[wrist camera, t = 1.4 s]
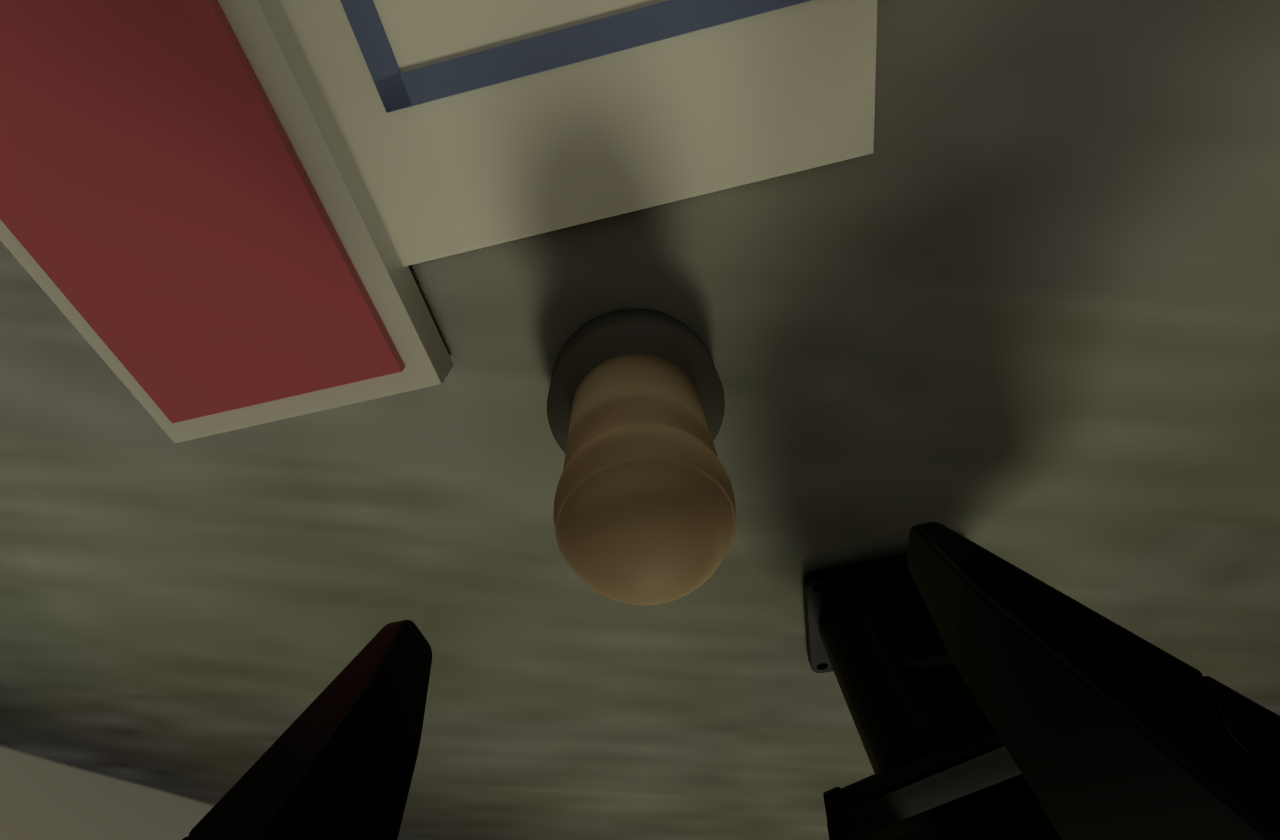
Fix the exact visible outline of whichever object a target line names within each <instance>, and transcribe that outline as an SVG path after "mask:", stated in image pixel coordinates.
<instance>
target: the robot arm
mask: <svg viewBox="0 0 1280 840" xmlns="http://www.w3.org/2000/svg"><path fill="white" fill-rule="evenodd" d="M803 583H804V598H805V614H806V629H807V644H808V660H809V663H810V666H811V668H812V671H814V672H816V673H824V672H830V671H834V673H835V676H836V678H837V681H838V683H839V686H840V688H841V691H842V693H843V696H844V698H845V701H846V703H847V706H848V708H849V711H850V713H851V716H852V718H853V720H854V723H855V725H856V728H857V730H858V733H859V735H860V738H861V740H862V743H863V745H864V748H865V750H866V753H867V755H868V758H869V760H870V763H871V765H872V768H873V770H874V773H875V774H874V775H872V776H869V777H867V778H865V779H862V780H860V781H858V782H855V783H853V784H851V785H848V786H846V787H844V788H839V787H835V788H833V789H831V790H828V791H826V792H824V802H825V809H826V815H827V826H828V833H829V839H830V840H1280V716H1279V715H1277V714H1276V713H1274V712H1272V711H1270V710H1268V709H1266V708H1265V707H1263V706H1261V705H1259V704H1257V703H1256V702H1254V701H1252V700H1250V699H1248V698H1247V697H1245V696H1243V695H1241V694H1239V693H1238V692H1236V691H1234V690H1232V689H1231V688H1229V687H1227V686H1225V685H1224V684H1222V683H1220V682H1218V681H1217V680H1215V679H1213V678H1211V677H1209V676H1204V677H1203V675H1202V673H1201V672H1200V671H1199V670H1197V669H1195V668H1193V667H1192V666H1190V665H1188V664H1186V663H1185V662H1183V661H1181V660H1179V659H1178V658H1176V657H1174V656H1172V655H1171V654H1169V653H1167V652H1165V651H1164V650H1162V649H1160V648H1158V647H1156V646H1155V645H1153V644H1151V643H1149V642H1148V641H1146V640H1144V639H1142V638H1141V637H1139V636H1137V635H1135V634H1134V633H1132V632H1130V631H1128V630H1127V629H1125V628H1123V627H1121V626H1120V625H1118V624H1116V623H1114V622H1113V621H1111V620H1109V619H1107V618H1106V617H1104V616H1102V615H1100V614H1099V613H1097V612H1095V611H1093V610H1092V609H1090V608H1088V607H1086V606H1084V605H1083V604H1081V603H1079V602H1077V601H1076V600H1074V599H1072V598H1070V597H1069V596H1067V595H1065V594H1063V593H1062V592H1060V591H1058V590H1056V589H1055V588H1053V587H1051V586H1049V585H1048V584H1046V583H1044V582H1042V581H1041V580H1039V579H1037V578H1035V577H1034V576H1032V575H1030V574H1028V573H1027V572H1025V571H1023V570H1021V569H1019V568H1018V567H1016V566H1014V565H1012V564H1011V563H1009V562H1007V561H1005V560H1004V559H1002V558H1000V557H998V556H997V555H995V554H993V553H991V552H990V551H988V550H986V549H984V548H983V547H981V546H979V545H977V544H976V543H974V542H972V541H970V540H969V539H967V538H965V537H963V536H962V535H960V534H958V533H956V532H954V531H953V530H951V529H949V528H947V527H946V526H944V525H942V524H940V523H937V522H929V523H924V524H919V525H914V526H912V527H911V529H910V532H909V541H908V552H907V554H904V555H899V556H893V557H888V558H882V559H877V560H871V561H866V562H861V563H855V564H850V565H844V566H839V567H834V568H828V569H823V570H817V571H813V572H810V573H809V574H807V575H806V576H805V578H804V581H803ZM431 663H432V650H431V647H430V645H429V643H428V642H427V640H426V639H425V637H424V636H423V635H422V633H421V632H420V630H419V629H418V628H417V626H416V625H415V623H414V622H412V621H410V620H403V621H398V622H393V623H389V624H387V625H386V626H385V627H383V628H382V629H381V630H380V632H379V633H378V634H377V635H376V636H375V637H374V638H373V639H372V640H371V641H370V642H369V643H368V644H367V645H366V646H365V647H364V648H363V649H362V651H361V652H360V653H359V654H358V655H357V656H356V657H355V658H354V659H353V660H352V661H351V662H350V663H349V664H348V665H347V666H346V667H345V669H344V670H343V671H342V672H341V673H340V674H339V675H338V676H337V677H336V678H335V679H334V680H333V681H332V682H331V683H330V684H329V685H328V686H327V688H326V689H325V690H324V691H323V692H322V693H321V694H320V695H319V696H318V697H317V698H316V699H315V700H314V701H313V702H312V703H311V704H310V706H309V707H308V708H307V709H306V710H305V711H304V712H303V713H302V714H301V715H300V716H299V717H298V718H297V719H296V720H295V721H294V722H293V723H292V725H291V726H290V727H289V728H288V729H287V730H286V731H285V732H284V733H283V734H282V735H281V736H280V737H279V738H278V739H277V740H276V741H275V742H274V744H273V745H272V746H271V747H270V748H269V749H268V750H267V751H266V752H265V753H264V754H263V755H262V756H261V757H260V758H259V759H258V760H257V762H256V763H255V764H254V765H253V766H252V767H251V768H250V769H249V770H248V771H247V772H246V773H245V774H244V775H243V776H242V777H241V778H240V779H239V781H238V782H237V783H236V784H235V785H234V786H233V787H232V788H231V789H230V790H229V791H228V792H227V793H226V794H225V795H224V796H223V797H222V798H221V800H220V801H219V802H218V803H217V804H216V805H215V806H214V807H213V808H212V809H211V810H210V811H209V812H208V813H207V814H206V815H205V816H204V817H203V819H202V820H201V821H200V822H199V823H198V824H197V825H196V826H195V827H194V828H193V829H192V830H191V832H190V833H189V837H185V838H183V839H182V840H397V839H398V835H399V831H400V826H401V822H402V818H403V814H404V810H405V805H406V801H407V797H408V793H409V789H410V784H411V780H412V776H413V772H414V768H415V764H416V759H417V755H418V750H419V745H420V739H421V733H422V727H423V720H424V713H425V705H426V698H427V691H428V684H429V677H430V670H431Z"/></svg>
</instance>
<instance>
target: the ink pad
mask: <svg viewBox="0 0 1280 840" xmlns="http://www.w3.org/2000/svg"><path fill="white" fill-rule="evenodd" d="M0 241H1V242H2V243H3V244H4V245H5V246H6V248H7V249H8V250H9V251H10V252H11V253H12V255H13V256H14V257H15V258H16V259H17V260H18V262H19V263H20V264H21V265H22V266H23V267H24V268H25V270H26V271H27V272H28V273H29V274H30V275H31V277H32V278H33V279H34V280H35V281H36V282H37V284H38V285H39V286H40V287H41V288H42V289H43V291H44V292H45V293H46V294H47V295H48V296H49V298H50V299H51V300H52V301H53V302H54V303H55V305H56V306H57V307H58V308H59V309H60V310H61V312H62V313H63V314H64V315H65V316H66V317H67V318H68V320H69V321H70V322H71V323H72V324H73V325H74V327H75V328H76V329H77V330H78V331H79V332H80V334H81V335H82V336H83V337H84V338H85V339H86V341H87V342H88V343H89V344H90V345H91V346H92V348H93V349H94V350H95V351H96V352H97V353H98V355H99V356H100V357H101V358H102V359H103V360H104V362H105V363H106V364H107V365H108V366H109V367H110V368H111V370H112V371H113V372H114V373H115V374H116V375H117V377H118V378H119V379H120V380H121V381H122V382H123V384H124V385H125V386H126V387H127V388H128V389H129V391H130V392H131V393H132V394H133V395H134V396H135V398H136V399H137V400H138V401H139V402H140V403H141V405H142V406H143V407H144V408H145V409H146V410H147V412H148V413H149V414H150V415H151V416H152V417H153V418H154V420H155V421H156V422H157V423H158V424H159V425H160V427H161V428H162V429H163V430H164V431H165V432H166V434H167V435H168V436H169V437H170V438H171V439H172V441H173V442H174V443H179V442H183V441H188V440H192V439H197V438H201V437H206V436H210V435H215V434H219V433H224V432H228V431H233V430H237V429H242V428H246V427H251V426H255V425H260V424H264V423H269V422H273V421H278V420H282V419H287V418H291V417H296V416H300V415H305V414H309V413H314V412H318V411H323V410H327V409H332V408H336V407H341V406H345V405H350V404H354V403H359V402H363V401H368V400H372V399H377V398H381V397H386V396H390V395H395V394H399V393H404V392H408V391H412V390H417V389H421V388H426V387H430V386H435V385H439V384H442V383H443V381H444V379H445V378H446V376H447V375H448V373H449V372H450V370H451V369H452V367H453V363H452V361H451V359H450V357H449V354H448V352H447V350H446V348H445V346H444V343H443V341H442V339H441V337H440V335H439V332H438V330H437V328H436V326H435V324H434V321H433V319H432V317H431V315H430V313H429V311H428V308H427V306H426V304H425V302H424V300H423V297H422V295H421V293H420V291H419V289H418V286H417V284H416V282H415V280H414V278H413V276H412V273H411V271H410V269H409V267H408V266H405V267H403V266H402V263H401V261H400V259H399V257H398V255H397V253H396V250H395V248H394V246H393V244H392V242H391V240H390V237H389V235H388V233H387V231H386V229H385V227H384V224H383V222H382V220H381V218H380V216H379V214H378V211H377V209H376V207H375V205H374V203H373V201H372V198H371V196H370V194H369V192H368V190H367V188H366V186H365V183H364V181H363V179H362V177H361V175H360V173H359V170H358V168H357V166H356V164H355V162H354V160H353V157H352V155H351V153H350V151H349V149H348V147H347V144H346V142H345V140H344V138H343V136H342V134H341V131H340V129H339V127H338V125H337V123H336V121H335V118H334V116H333V114H332V112H331V110H330V108H329V106H328V103H327V101H326V99H325V97H324V95H323V93H322V90H321V88H320V86H319V84H318V82H317V80H316V77H315V75H314V73H313V71H312V69H311V67H310V64H309V62H308V60H307V58H306V56H305V54H304V51H303V49H302V47H301V45H300V43H299V41H298V38H297V36H296V34H295V32H294V30H293V28H292V26H291V23H290V21H289V19H288V17H287V15H286V13H285V10H284V8H283V6H282V4H281V2H280V0H0Z"/></svg>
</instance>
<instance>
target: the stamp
mask: <svg viewBox="0 0 1280 840" xmlns="http://www.w3.org/2000/svg"><path fill="white" fill-rule="evenodd" d="M724 405H725V402H724V392H723V387H722V383H721V381H720V378H719V376H718V373H717V371H716V368H715V366H714V363H713V361H712V359H711V356H710V354H709V351H708V350H707V348H706V346H705V345H704V343H703V342H702V340H701V339H700V338H699V337H698V335H697V334H696V333H695V332H694V331H693V330H692V329H690V328H689V327H688V326H686V325H685V324H684V323H682V322H681V321H679V320H677V319H675V318H673V317H671V316H669V315H666V314H663V313H661V312H656V311H652V310H644V309H625V310H619V311H614V312H611V313H607V314H604V315H602V316H599V317H597V318H595V319H593V320H591V321H590V322H588V323H586V324H585V325H583V326H582V327H581V328H580V329H578V330H577V331H576V332H575V333H574V334H573V335H572V336H571V337H570V338H569V339H568V341H567V342H566V344H565V345H564V346H563V348H562V350H561V352H560V354H559V356H558V358H557V361H556V364H555V367H554V371H553V375H552V379H551V384H550V388H549V393H548V399H547V414H548V421H549V425H550V428H551V431H552V433H553V436H554V438H555V440H556V441H557V443H558V445H559V446H560V448H561V449H562V450H563V451H564V452H565V454H566V455H565V463H564V470H563V473H562V475H561V478H560V480H559V483H558V486H557V490H556V495H555V500H554V523H555V530H556V539H557V544H558V547H559V550H560V552H561V554H562V556H563V557H564V559H565V560H566V562H567V563H568V564H569V566H570V567H571V568H572V569H573V570H574V572H575V573H576V574H577V575H578V576H579V577H580V578H581V579H582V580H583V581H584V582H585V583H586V584H587V585H589V586H590V587H591V588H593V589H594V590H596V591H597V592H599V593H601V594H602V595H604V596H606V597H608V598H611V599H613V600H616V601H619V602H623V603H628V604H633V605H657V604H663V603H667V602H671V601H674V600H676V599H679V598H681V597H683V596H685V595H687V594H689V593H691V592H693V591H694V590H696V589H697V588H699V587H700V586H701V585H702V584H703V583H704V582H706V581H707V580H708V579H709V578H710V577H711V576H712V575H713V573H714V572H715V571H716V570H717V568H718V567H719V565H720V564H721V562H722V561H723V559H724V558H725V555H726V554H727V552H728V551H729V549H730V547H731V545H732V542H733V539H734V536H735V531H736V508H735V498H734V493H733V489H732V485H731V482H730V480H729V477H728V475H727V473H726V470H725V468H724V466H723V465H722V463H721V462H720V460H719V459H718V456H717V453H716V450H715V447H714V443H713V441H714V439H715V437H716V435H717V434H718V431H719V429H720V426H721V424H722V419H723V415H724Z"/></svg>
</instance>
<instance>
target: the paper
mask: <svg viewBox="0 0 1280 840" xmlns="http://www.w3.org/2000/svg"><path fill="white" fill-rule="evenodd" d="M280 2H281V4H282V6H283V8H284V10H285V13H286V15H287V17H288V19H289V21H290V23H291V26H292V28H293V30H294V32H295V34H296V36H297V38H298V41H299V43H300V45H301V47H302V49H303V51H304V54H305V56H306V58H307V60H308V62H309V64H310V67H311V69H312V71H313V73H314V75H315V77H316V80H317V82H318V84H319V86H320V88H321V90H322V93H323V95H324V97H325V99H326V101H327V103H328V106H329V108H330V110H331V112H332V114H333V116H334V118H335V121H336V123H337V125H338V127H339V129H340V131H341V134H342V136H343V138H344V140H345V142H346V144H347V147H348V149H349V151H350V153H351V155H352V157H353V160H354V162H355V164H356V166H357V168H358V170H359V173H360V175H361V177H362V179H363V181H364V183H365V186H366V188H367V190H368V192H369V194H370V196H371V198H372V201H373V203H374V205H375V207H376V209H377V211H378V214H379V216H380V218H381V220H382V222H383V224H384V227H385V229H386V231H387V233H388V235H389V237H390V240H391V242H392V244H393V246H394V248H395V250H396V253H397V255H398V257H399V259H400V261H401V263H402V266H403V267H405V266H409V265H413V264H418V263H422V262H426V261H430V260H434V259H438V258H442V257H447V256H451V255H455V254H459V253H463V252H467V251H471V250H476V249H480V248H484V247H488V246H492V245H496V244H500V243H505V242H509V241H513V240H517V239H521V238H525V237H529V236H534V235H538V234H542V233H546V232H550V231H554V230H558V229H563V228H567V227H571V226H575V225H579V224H583V223H587V222H592V221H596V220H600V219H604V218H608V217H612V216H616V215H621V214H625V213H629V212H633V211H637V210H641V209H645V208H650V207H654V206H658V205H662V204H666V203H670V202H674V201H679V200H683V199H687V198H691V197H695V196H699V195H703V194H708V193H712V192H716V191H720V190H724V189H728V188H732V187H737V186H741V185H745V184H749V183H753V182H757V181H761V180H766V179H770V178H774V177H778V176H782V175H786V174H790V173H795V172H799V171H803V170H807V169H811V168H815V167H819V166H823V165H828V164H832V163H836V162H840V161H844V160H848V159H852V158H857V157H861V156H865V155H869V154H873V152H874V114H875V76H876V38H877V0H280Z"/></svg>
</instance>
